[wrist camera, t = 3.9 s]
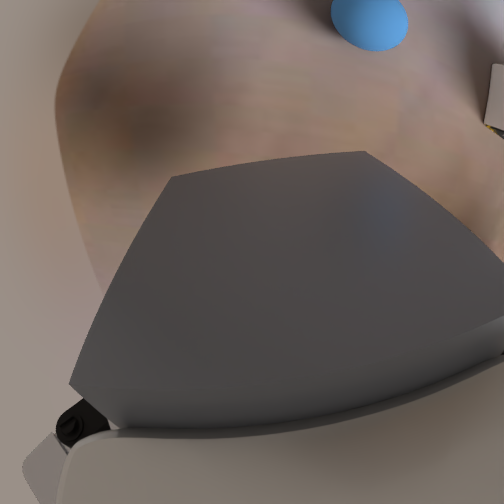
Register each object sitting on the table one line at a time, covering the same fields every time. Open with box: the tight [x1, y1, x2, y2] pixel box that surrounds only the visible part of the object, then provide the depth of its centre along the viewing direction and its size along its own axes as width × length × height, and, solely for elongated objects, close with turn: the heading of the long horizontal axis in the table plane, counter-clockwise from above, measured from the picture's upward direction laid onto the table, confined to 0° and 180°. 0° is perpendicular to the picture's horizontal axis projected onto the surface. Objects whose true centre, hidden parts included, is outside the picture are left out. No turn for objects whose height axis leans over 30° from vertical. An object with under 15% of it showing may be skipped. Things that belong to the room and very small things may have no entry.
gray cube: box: [69, 151, 504, 429], centre depth 9 cm, size 8×8×9 cm
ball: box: [331, 0, 408, 51], centre depth 12 cm, size 5×5×5 cm
